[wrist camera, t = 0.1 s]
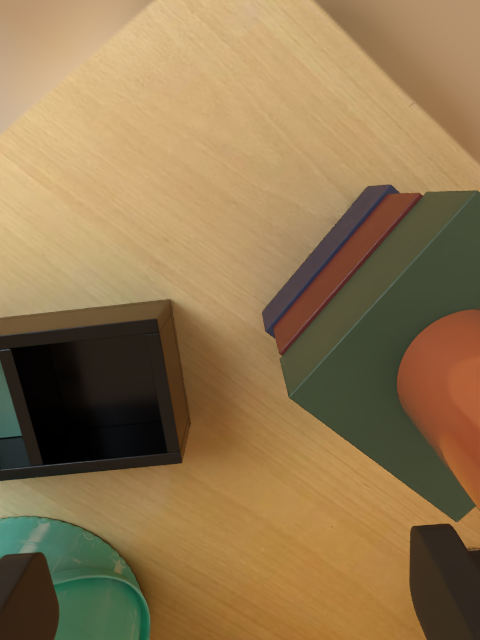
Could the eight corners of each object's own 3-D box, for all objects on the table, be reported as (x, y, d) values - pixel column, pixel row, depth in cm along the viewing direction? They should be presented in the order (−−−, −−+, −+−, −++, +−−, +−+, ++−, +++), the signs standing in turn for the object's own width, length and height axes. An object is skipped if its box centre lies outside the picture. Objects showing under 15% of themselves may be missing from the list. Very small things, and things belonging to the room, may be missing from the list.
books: (261, 312, 28) (276, 395, 16) (367, 185, 25) (473, 176, 14) (373, 399, 29) (460, 531, 18) (482, 288, 27) (661, 356, 16)
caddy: (-92, 327, 28) (-154, 352, 23) (170, 298, 27) (156, 318, 23) (-50, 448, 30) (-99, 491, 26) (190, 424, 30) (182, 463, 25)
